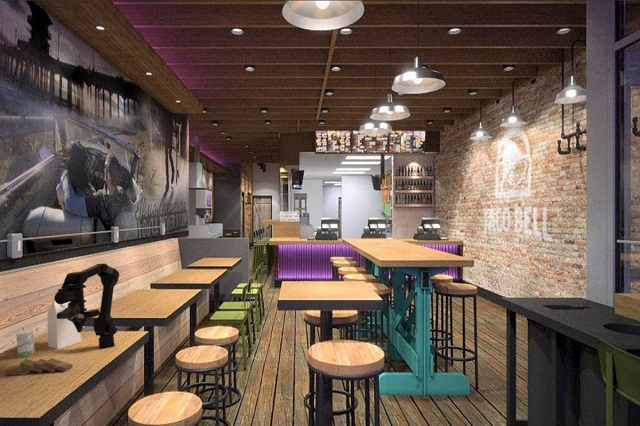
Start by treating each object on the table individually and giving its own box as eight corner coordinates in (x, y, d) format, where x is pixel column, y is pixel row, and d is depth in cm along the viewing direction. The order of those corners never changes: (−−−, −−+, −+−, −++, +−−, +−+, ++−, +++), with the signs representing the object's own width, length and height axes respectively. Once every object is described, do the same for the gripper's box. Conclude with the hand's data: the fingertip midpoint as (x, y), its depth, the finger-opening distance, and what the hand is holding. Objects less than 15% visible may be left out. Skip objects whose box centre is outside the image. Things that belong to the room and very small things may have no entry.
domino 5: (65, 371, 180) (43, 365, 181) (71, 367, 185) (51, 361, 185) (65, 368, 180) (44, 361, 181) (72, 364, 185) (51, 358, 185)
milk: (71, 339, 231) (68, 292, 231) (81, 341, 225) (78, 294, 224) (48, 345, 222) (44, 297, 221) (57, 348, 215) (53, 298, 215)
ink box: (29, 356, 205) (27, 332, 205) (17, 358, 204) (15, 334, 204) (35, 351, 213) (33, 328, 213) (23, 353, 212) (22, 330, 212)
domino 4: (53, 372, 181) (32, 366, 181) (60, 368, 185) (40, 362, 186) (54, 369, 180) (33, 362, 181) (61, 365, 185) (41, 358, 186)
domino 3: (41, 373, 181) (19, 366, 181) (47, 369, 185) (26, 362, 185) (42, 369, 181) (20, 362, 181) (48, 365, 185) (27, 359, 185)
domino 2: (26, 376, 181) (6, 376, 182) (34, 372, 185) (14, 372, 187) (26, 372, 181) (6, 373, 182) (34, 368, 185) (14, 369, 187)
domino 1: (29, 372, 181) (6, 374, 181) (36, 368, 186) (13, 370, 185) (29, 368, 181) (5, 370, 181) (35, 364, 186) (12, 366, 185)
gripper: (45, 304, 188) (48, 338, 188) (81, 302, 185) (84, 337, 185) (64, 298, 199) (67, 330, 199) (99, 297, 196) (101, 329, 196)
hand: (79, 332), depth 195 cm, fingers closed
